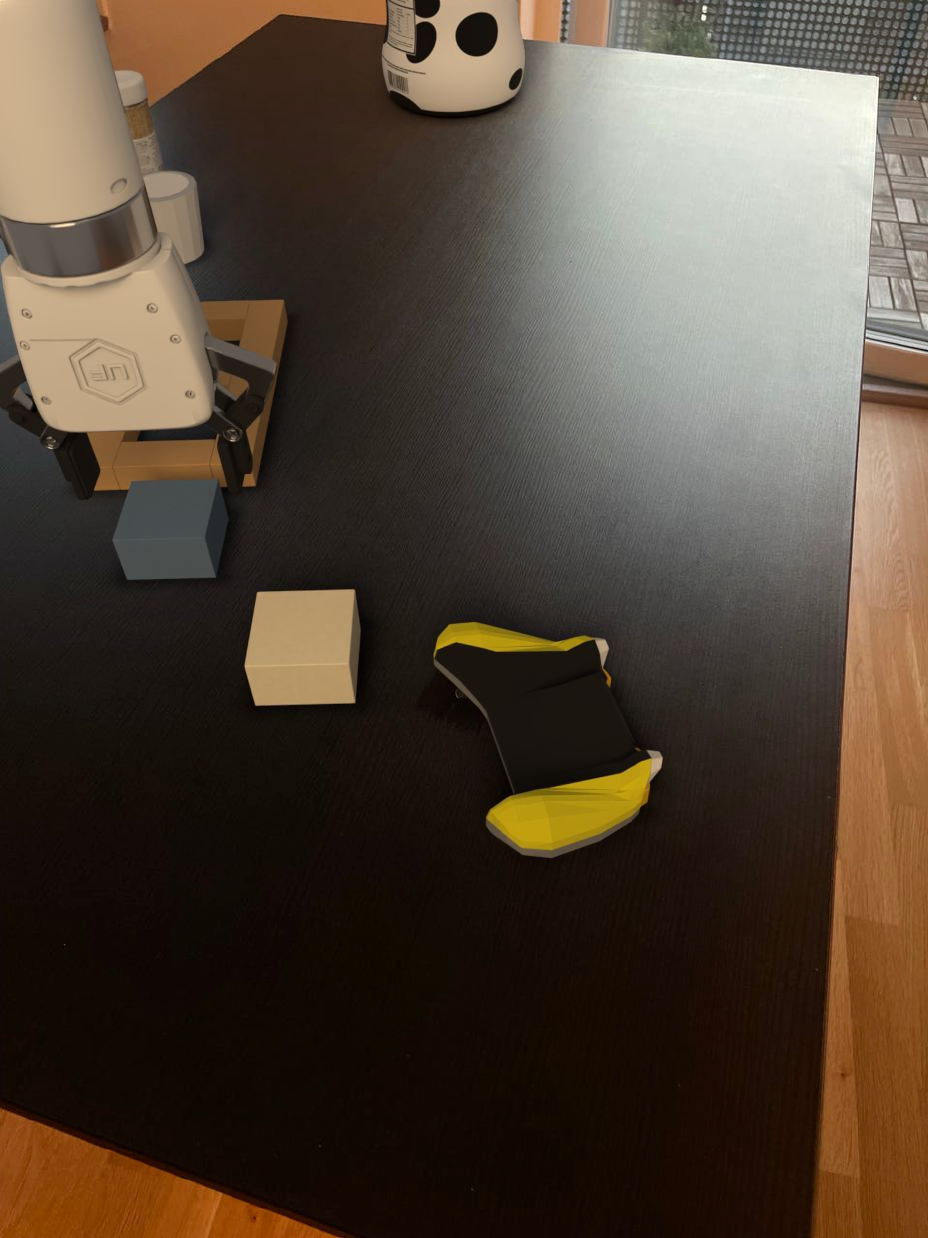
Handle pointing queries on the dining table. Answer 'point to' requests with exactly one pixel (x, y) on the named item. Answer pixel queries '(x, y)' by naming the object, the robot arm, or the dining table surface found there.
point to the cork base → (199, 459)
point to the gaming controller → (550, 736)
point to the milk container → (453, 55)
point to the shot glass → (177, 210)
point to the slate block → (171, 529)
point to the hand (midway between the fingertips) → (164, 483)
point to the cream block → (304, 647)
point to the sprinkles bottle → (140, 120)
